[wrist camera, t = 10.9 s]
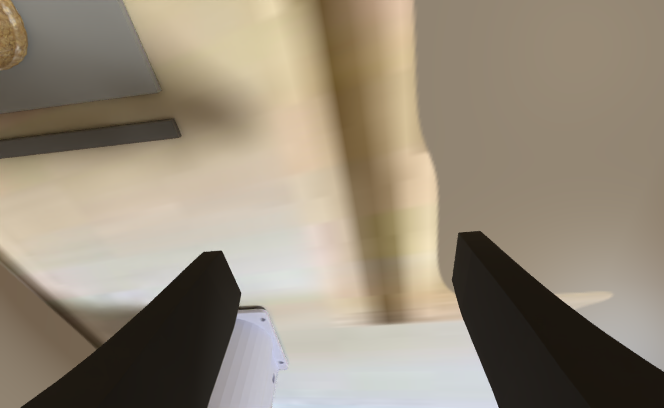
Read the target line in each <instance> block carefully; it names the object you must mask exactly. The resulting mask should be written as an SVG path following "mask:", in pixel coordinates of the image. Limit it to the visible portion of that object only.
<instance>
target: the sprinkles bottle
mask: <svg viewBox="0 0 664 408" xmlns="http://www.w3.org/2000/svg"><path fill="white" fill-rule="evenodd" d="M27 47H28V38H27V32H26V29H25V27H24V23H23V20H22V18H21V16H20V14H19V13H18V11H17V9H16V8H15V6H14V5H13V3H12V1H11V0H0V71H2V70H7V69H10V68H12V67H13V66H15V65H18V64H19V63H20V62H21V61H22V60H23V58H24V57H25V56H26V55H27Z"/></svg>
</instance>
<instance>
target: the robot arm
mask: <svg viewBox="0 0 664 408" xmlns="http://www.w3.org/2000/svg"><path fill="white" fill-rule="evenodd" d="M452 282H453V286H454V290H455V294H456V298H457V301H458V305H459V308H460V312H461V314H462V317H463V320H464V322H465V325H466V327H467V329H468V332H469V334H470V337H471V339H472V342H473V344H474V347H475V349H476V352H477V354H478V356H479V359H480V361H481V364H482V366H483V369H484V371H485V373H486V376H487V378H488V381H489V383H490V386H491V388H492V391H493V393H494V396H495V399H496V401H497V404H498V407H499V408H664V372H663V371H662V370H660V369H659V368H657V367H655V366H654V365H652V364H651V363H649V362H648V361H646V360H645V359H643V358H642V357H640V356H639V355H637V354H636V353H634V352H633V351H631V350H630V349H628V348H627V347H625V346H624V345H622V344H621V343H619V342H618V341H616V340H615V339H613V338H612V337H611V336H609V335H608V334H606V333H605V332H603V331H602V330H601V329H599V328H598V327H596V326H595V325H594V324H592V323H591V322H590V321H588V320H587V319H586V318H584V317H583V316H582V315H580V314H579V313H578V312H576V311H575V310H574V309H572V308H571V307H570V306H568V305H567V304H566V303H564V302H563V301H562V300H561V299H559V298H558V297H557V296H556V295H554V294H553V293H552V292H551V291H549V290H548V289H547V288H546V287H545V286H543V285H542V284H541V283H539V282H538V281H537V280H536V279H535V278H534V277H532V276H531V275H530V274H529V273H528V272H526V271H525V270H524V269H523V268H522V267H521V266H519V265H518V264H517V263H516V262H515V261H514V260H513V259H511V258H510V257H509V256H508V255H507V254H506V253H505V252H503V251H502V250H501V249H500V248H499V247H498V246H497V245H496V244H495V243H493V242H492V241H491V240H490V239H489V238H488V237H487V236H485V235H484V234H483V233H482V232H481V231H474V232H462V233H458V240H457V247H456V255H455V262H454V269H453V277H452ZM240 297H241V292H240V289H239V287H238V285H237V283H236V281H235V278H234V276H233V274H232V272H231V270H230V267H229V265H228V263H227V261H226V259H225V256H224V254H223V252H222V251H210V252H203V253H202V254H201V255H200V256H198V257H197V258H196V259H195V260H194V261H193V262H192V263H191V264H190V265H189V266H188V267H187V268H186V269H185V270H184V271H182V272H181V273H180V274H179V275H178V276H177V277H176V278H175V279H174V280H173V281H172V282H171V283H170V284H169V285H168V286H167V287H166V288H165V289H164V290H163V291H162V292H161V293H160V294H159V295H158V296H156V297H155V298H154V299H153V300H152V301H151V302H150V303H149V304H148V305H147V306H146V307H145V308H144V309H143V310H142V311H140V312H139V313H138V314H137V315H136V316H135V317H134V318H133V319H132V320H130V321H129V322H128V323H127V324H126V325H125V326H124V327H123V328H121V329H120V330H119V331H118V332H117V333H116V334H115V335H114V336H112V337H111V338H110V339H109V340H108V341H107V342H106V343H104V344H103V345H102V346H101V347H100V348H98V349H97V350H96V351H95V352H94V353H92V354H91V355H90V356H89V357H87V358H86V359H85V360H84V361H82V362H81V363H80V364H78V365H77V366H76V367H75V368H73V369H72V370H71V371H70V372H68V373H67V374H66V375H64V376H63V377H62V378H61V379H59V380H58V381H57V382H56V383H54V384H53V385H51V386H50V387H48V388H47V389H46V390H44V391H43V392H41V393H40V394H39V395H37V396H36V397H35V398H33V399H32V400H30V401H29V402H28V403H26V404H25V405H23V406H22V407H21V408H272V405H273V399H274V393H275V387H276V382H277V376H278V370H286V369H288V365H289V364H288V362H287V359H286V357H285V354H284V352H283V349H282V347H281V344H280V342H279V339H278V337H277V334H276V332H275V329H274V327H273V325H272V322H271V320H270V317H269V315H268V312H267V311H266V310H265V309H247V310H238V308H239V303H240Z"/></svg>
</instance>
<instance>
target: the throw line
mask: <svg viewBox="0 0 664 408" xmlns="http://www.w3.org/2000/svg"><path fill="white" fill-rule="evenodd" d="M180 136H181V134H180V132H179V129H178V127H177V125H176V122H175V120H174V119H166V120H158V121H150V122H142V123H134V124H126V125H118V126H110V127H102V128H94V129H86V130H78V131H70V132H62V133H53V134H45V135H37V136H29V137H21V138H13V139H5V140H0V159H2V158H10V157H19V156H27V155H36V154H45V153H53V152H62V151H70V150H79V149H87V148H96V147H104V146H113V145H122V144H130V143H139V142H147V141H156V140H164V139H173V138H179V137H180Z"/></svg>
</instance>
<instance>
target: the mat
mask: <svg viewBox="0 0 664 408" xmlns="http://www.w3.org/2000/svg"><path fill="white" fill-rule="evenodd" d="M11 1H12V3H13V5H14V6H15V8H16V9H17V11H18V13H19V14H20V16H21V18H22V20H23V23H24V27H25V29H26V32H27V38H28V47H27V55H26V56H25V57H24V58H23V60H22V61H21V62H20V63H19V64H18V65H15V66H13V67H12V68H10V69H7V70H2V71H0V114H2V113H10V112H17V111H25V110H32V109H40V108H47V107H55V106H62V105H70V104H77V103H85V102H92V101H99V100H107V99H114V98H122V97H129V96H137V95H144V94H152V93H158V92H160V91H162V90H161V88H160V85H159V83H158V81H157V78H156V76H155V74H154V72H153V69H152V67H151V65H150V62H149V60H148V58H147V55H146V53H145V51H144V48H143V46H142V44H141V42H140V39H139V37H138V35H137V32H136V30H135V28H134V25H133V23H132V21H131V18H130V16H129V14H128V12H127V9H126V7H125V5H124V2H123V0H11Z"/></svg>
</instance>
